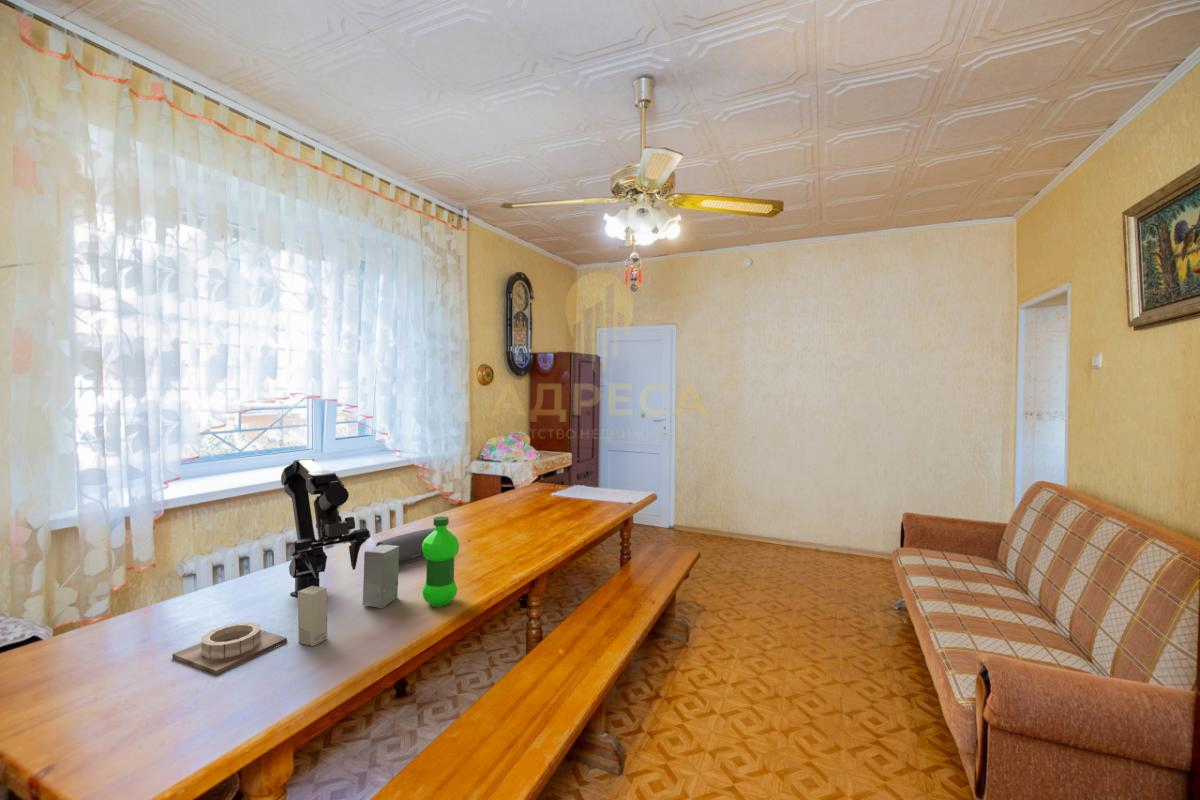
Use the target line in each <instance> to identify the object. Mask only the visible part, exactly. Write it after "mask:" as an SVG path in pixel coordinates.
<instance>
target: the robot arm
mask: <svg viewBox="0 0 1200 800" xmlns="http://www.w3.org/2000/svg"><path fill="white" fill-rule="evenodd" d="M280 482H281V485H282V486H283V489H284V492H285V493H286V494H287V495H288V496H289V497H290V499H291V503H292V508H293V509H292V510H293V517H294V525H295V530H296V531H295V532H296V539H297V540H295V541H294V542H293V543H292V544H291V545H290V546H289V556H290V557H292V558H291V561H290V563H289V567H288V570H289V571H288V572H289V575H290V576H291V578H293V579H294V584H295V585H294V591H293V592H290V593H289V594H290V596H293V597H295V598H296V597H297V598H298V591H300V590H303V589H305V588H308V587H310V586H317V587H320V580H321V579H320V573H323V572H324V573H325V571H326V568H327V567H326V566H327V561H328V560H327V559H328V555H326V552H325V551H324V547H328V546H333V545H340V544H343V543H349V544H350V545H349V546H348V550H349V556H350V558H349V560H350V564H351V568H352V571H354V570H356V567H357V562H358V559H359V558H358V556H359V553H360V549H361V546H362V545H363V544H364V543H366V542H367V541H368V540H369V539H370V538H371V531H370V530H369V528H361V529H357V530H356V521H355V517H354V516H348V517H344V520H342V515H340V512H339V509H340V508H341V507H342V506H343V505H344V504H346V502H348V500H349V491H348V490H347V488H346V487H345V484H344V483H343V482H342V481H341V479H340V478H339V476H338V475H337V473H335V472H334V471H332V470H324V469H322V468H321V467H320V466H319V464H317V463H316V462H315V461H314V458H311V457H306V458H297V459H294V460H293V462H292V463H291V464H289V465H288V466H286V467H284V469H283V470H282V473H281V476H280ZM310 495H311V496H313V495H315V496H316V495H317V496H316V499H315V500H314V501H313V509H314V516H315V529H316V530H317V539H316V538H315V537H316V535H315V531H314V522H313V517H312V509H311V503H310ZM349 530H353V531H351V532H349Z"/></svg>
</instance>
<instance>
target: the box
mask: <svg viewBox="0 0 1200 800" xmlns="http://www.w3.org/2000/svg"><path fill="white" fill-rule="evenodd" d="M327 602H328V599H327V587H322V586H319V587H317V586H310V587H308V588H305V589H303V590H300V591H298V597H297V618H298V619H297V622H298V623H297V624H298V625H297V626H298V627H297V628H298V643H299V644H303V645H307V646H312V647H313V646H316V645H317V644H319V643H321V642H323V641H325V640H327V639H328V611H327V610H328V607H327V606H328V605H327V604H328V603H327Z"/></svg>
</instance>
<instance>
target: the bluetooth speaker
mask: <svg viewBox="0 0 1200 800" xmlns="http://www.w3.org/2000/svg"><path fill="white" fill-rule="evenodd" d="M434 530H435V527H433V528H432V527H431V528H426V529H420V530H416V531H415V530H414V531H412V532H408V533H404V534H400V535H395V536H392V537H390V538H389V537H388V538H386V539H383V540H381V541H378V542H377V543H376V544H375V547H376V546H379V545H381V544H383V545H393V546H399V565H405V564H408V563H412V562H415V561H419V560H421V559H423V558H425V557H424V556H423V550H422V543H423V541H424V539H425V538H426V537H427V536H428V535H430V534H431V533H432V532H433V531H434Z"/></svg>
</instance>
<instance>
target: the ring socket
mask: <svg viewBox="0 0 1200 800" xmlns="http://www.w3.org/2000/svg"><path fill="white" fill-rule="evenodd" d="M285 642H286V643H288V637H285V636H281V635H280V634H275V633H272V632H269V631H266V630H263V629H261V625H260V623H256V622H252V621H249V622H248V621H247V622H245V621H244V622H242V621H241V622H236V623H230V624H226V625H222V626H219V627H217V628H215V629H211V630H210V631H208V632H207V633H206V634H204V635H203V636H202V637H201V642H199V643H197V644H196V643H195V644H194V645H191V646H189V647H186V648H184V649H181V650H179V651H176V652H174V653H172V659H173V660H176V661H178V662H181V663H183V664H186V665H189V666H191V667H194V668H196V669H199V670H202V671H204V672H207V673H209V674H212V675H214V676H218V675H219V674H222V673H224V672H226V671H229V670H231V669H233V668H235V667H237V666H239V665H241V664H243V662H244V663H245V662H248V661H249V660H252V659H254V658H257V657H258V656H261V655H263V654H264V652H265V653H266V652H269V651H270V649H271V650H273V649H275V648H277V647H279V646H278V645H280V646H282V645H284V644H286V643H285ZM283 643H284V644H283ZM281 644H282V645H281ZM276 646H277V647H276ZM274 647H275V648H274ZM262 653H263V654H262Z"/></svg>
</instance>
